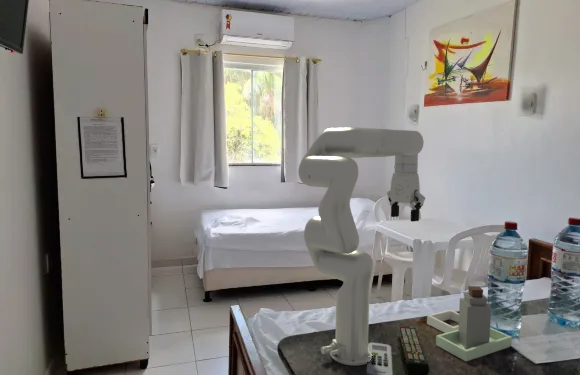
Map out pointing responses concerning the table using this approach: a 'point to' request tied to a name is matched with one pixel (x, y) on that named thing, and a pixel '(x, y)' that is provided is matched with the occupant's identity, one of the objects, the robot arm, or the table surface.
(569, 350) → the table surface
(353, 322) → the robot arm
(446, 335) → the green bin
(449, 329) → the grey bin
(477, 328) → the perfume bottle
